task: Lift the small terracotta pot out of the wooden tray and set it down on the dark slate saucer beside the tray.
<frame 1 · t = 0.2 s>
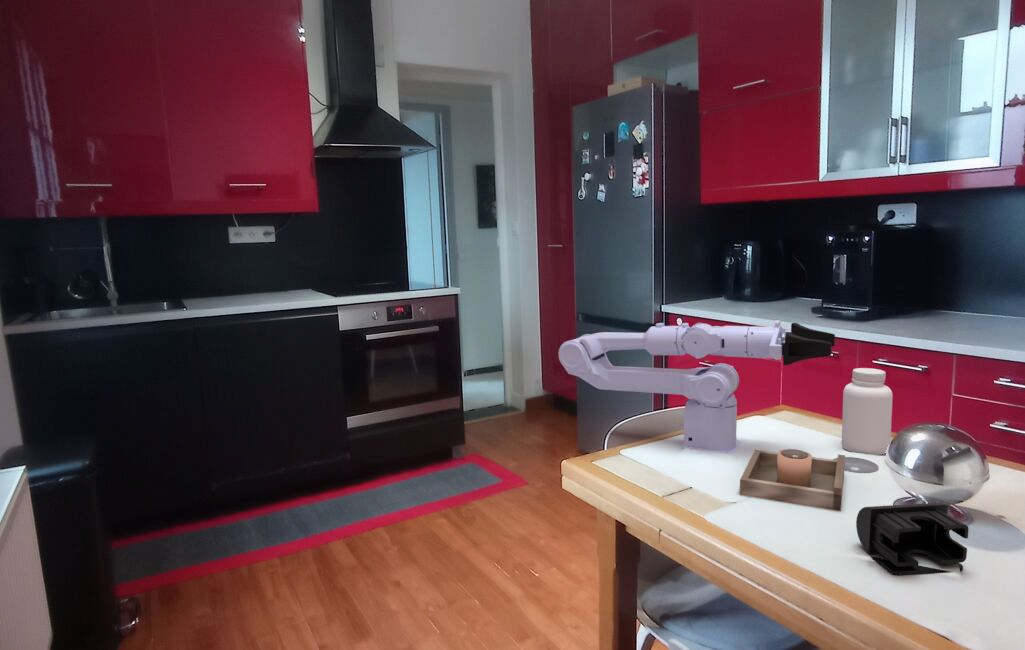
hand: (833, 344, 108), 21 cm above the table, tool horizontal, fingers open, 7 cm apart
wooden tray: (793, 487, 102), on the table
saucer: (854, 468, 109), on the table
end cap: (909, 561, 79), on the table
pot: (793, 484, 102), point 1 cm above the table, touching wooden tray
pill bottle: (865, 450, 118), on the table
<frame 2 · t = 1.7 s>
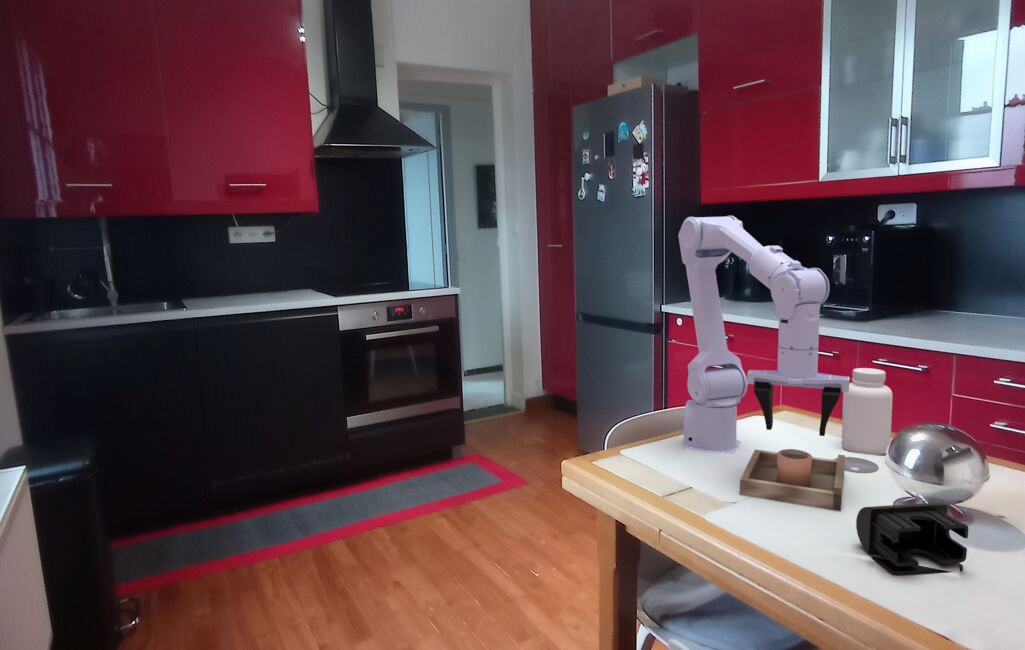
hand: (795, 431, 100), 9 cm above the table, tool pointing down, fingers open, 7 cm apart
nothing on the table moved.
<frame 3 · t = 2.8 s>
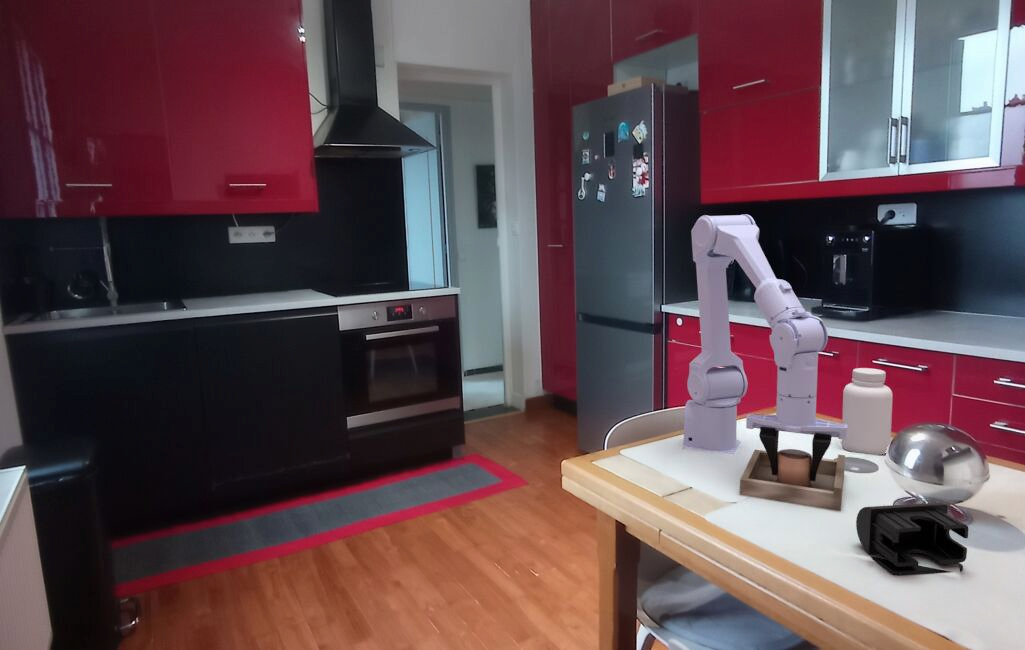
hand: (793, 476, 101), 2 cm above the table, tool pointing down, fingers closed on pot, 5 cm apart
pot: (793, 484, 102), point 1 cm above the table, touching wooden tray, gripper
everything else where it was.
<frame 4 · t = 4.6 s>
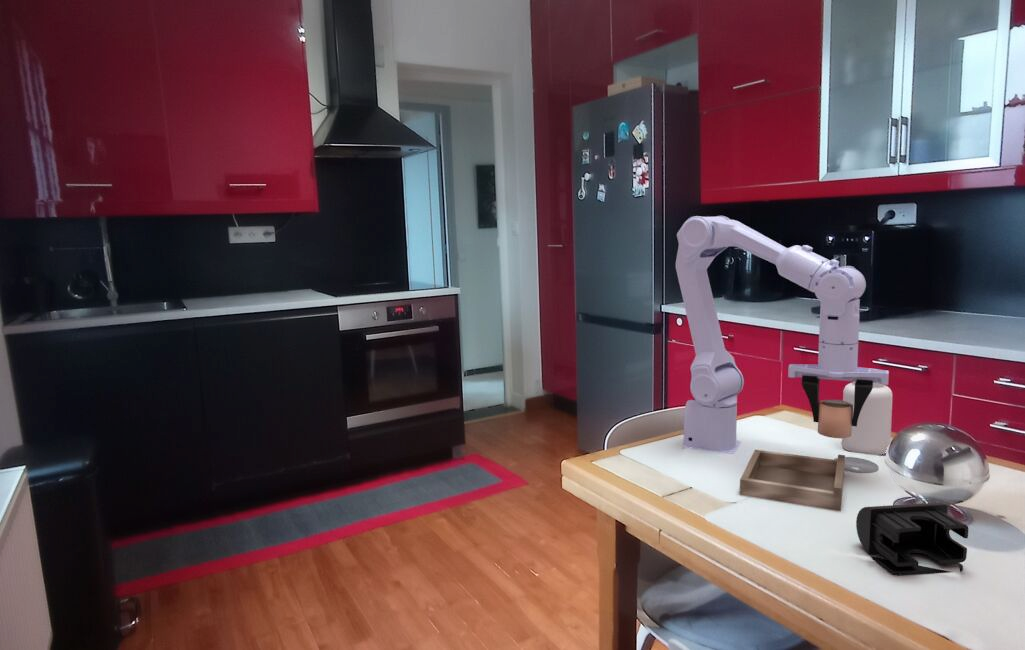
hand: (835, 422, 105), 9 cm above the table, tool pointing down, fingers closed on pot, 5 cm apart
pot: (834, 433, 105), point 8 cm above the table, touching gripper
everything else where it was.
when the fingers open (3 cm above the table, at t = 6.5 s): pot stays where it is, resting on saucer.
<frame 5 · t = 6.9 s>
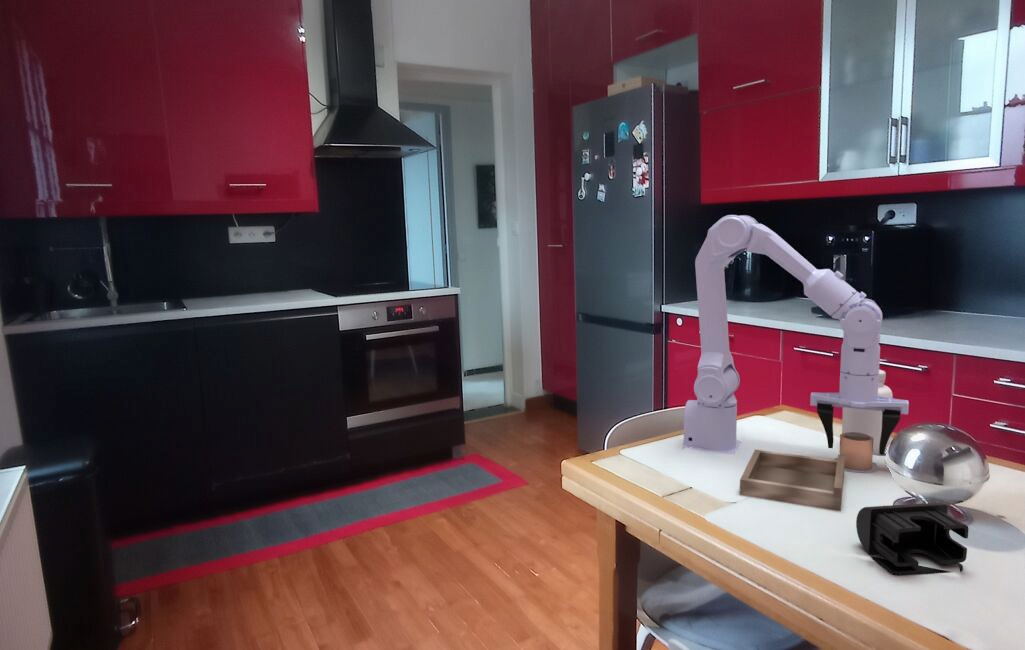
hand: (855, 449, 108), 3 cm above the table, tool pointing down, fingers open, 7 cm apart
pot: (855, 465, 108), point 1 cm above the table, touching saucer
everything else where it was.
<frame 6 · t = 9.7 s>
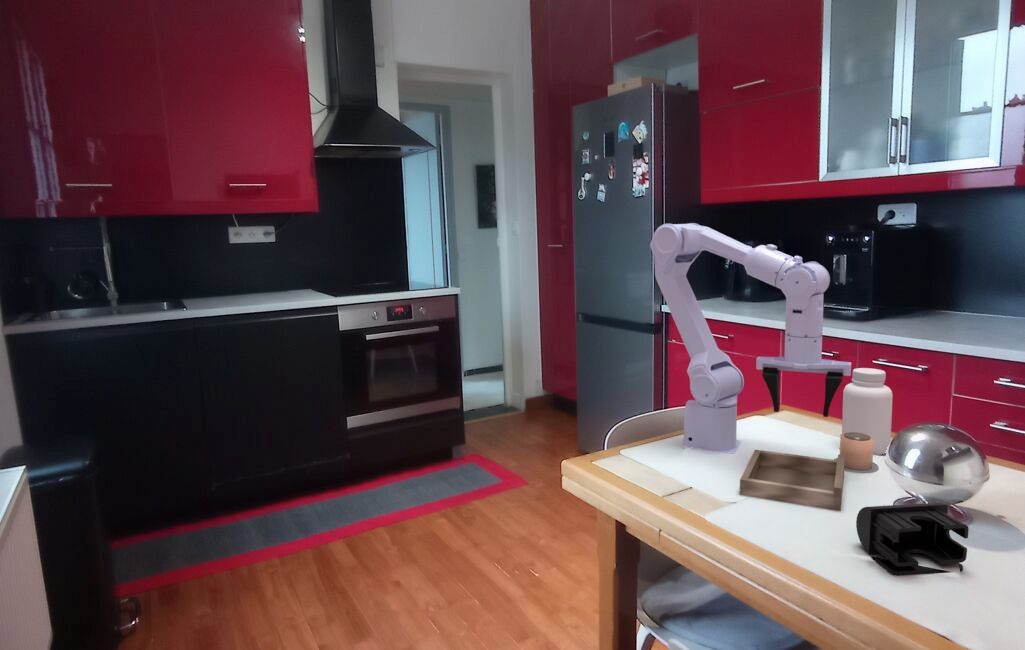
hand: (800, 412, 108), 10 cm above the table, tool pointing down, fingers open, 7 cm apart
nothing on the table moved.
at the end: pot 0.5 cm from the saucer (horizontally); pot tilted 0°; pot point 0.8 cm above the table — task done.
